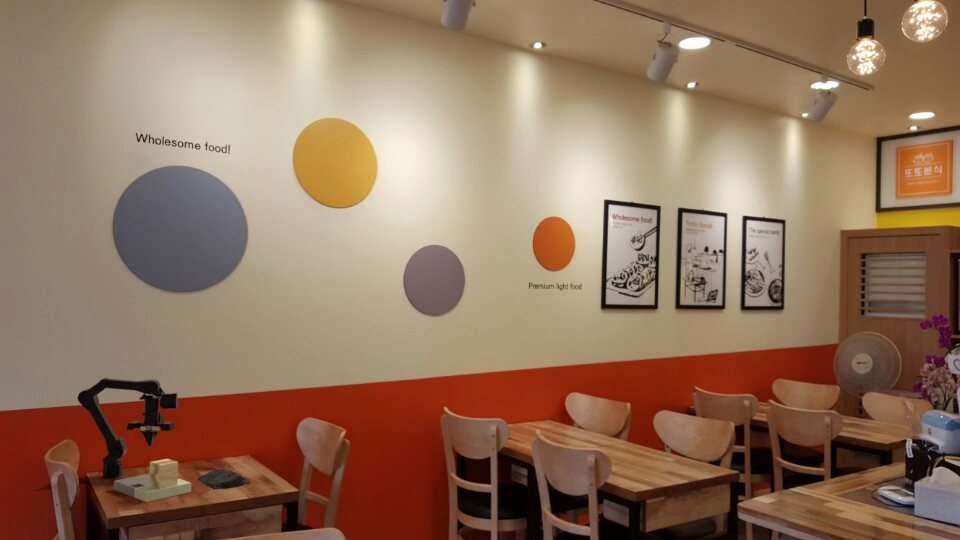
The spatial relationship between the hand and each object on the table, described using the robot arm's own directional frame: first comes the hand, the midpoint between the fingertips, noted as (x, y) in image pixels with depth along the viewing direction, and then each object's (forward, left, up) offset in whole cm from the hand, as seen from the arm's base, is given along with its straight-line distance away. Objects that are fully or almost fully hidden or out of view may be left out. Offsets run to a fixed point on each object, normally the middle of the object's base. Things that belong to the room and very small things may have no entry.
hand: (150, 446), depth 304 cm
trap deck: (+12, -23, -12) cm, 29 cm away
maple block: (+19, -28, -8) cm, 34 cm away
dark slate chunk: (+35, -8, -13) cm, 38 cm away
